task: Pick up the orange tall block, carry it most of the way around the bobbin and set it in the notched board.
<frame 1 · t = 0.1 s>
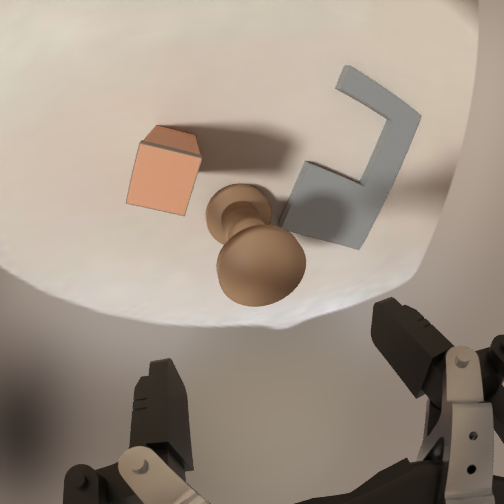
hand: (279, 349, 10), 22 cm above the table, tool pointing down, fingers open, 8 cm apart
bobbin: (237, 214, 32), on the table
notched board: (353, 163, 32), on the table
orange tall block: (169, 149, 27), on the table
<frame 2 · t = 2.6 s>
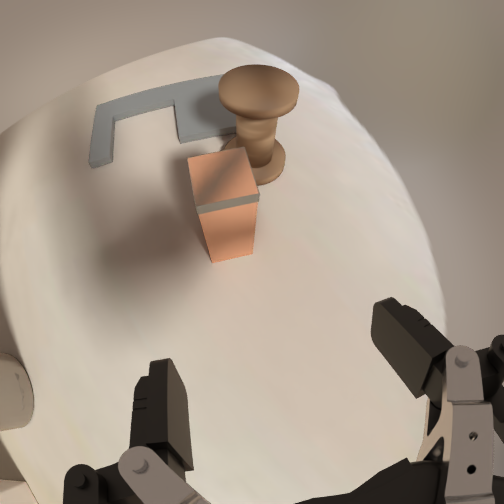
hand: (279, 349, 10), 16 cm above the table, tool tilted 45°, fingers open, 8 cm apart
bobbin: (254, 160, 33), on the table
notched board: (162, 117, 35), on the table
orange tall block: (227, 239, 29), on the table
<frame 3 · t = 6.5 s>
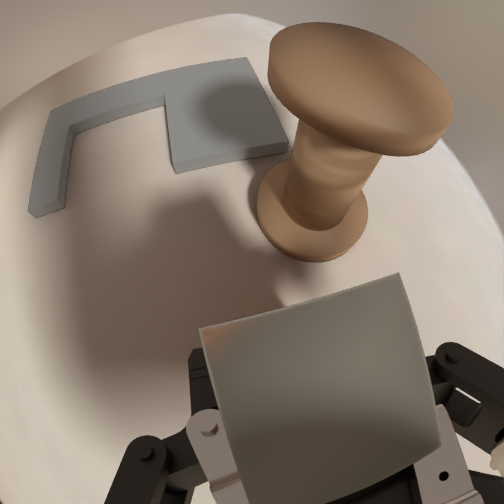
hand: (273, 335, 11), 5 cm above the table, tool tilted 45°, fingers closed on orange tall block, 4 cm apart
bobbin: (310, 210, 18), on the table
notched board: (145, 125, 21), on the table
orange tall block: (274, 375, 15), on the table, touching gripper
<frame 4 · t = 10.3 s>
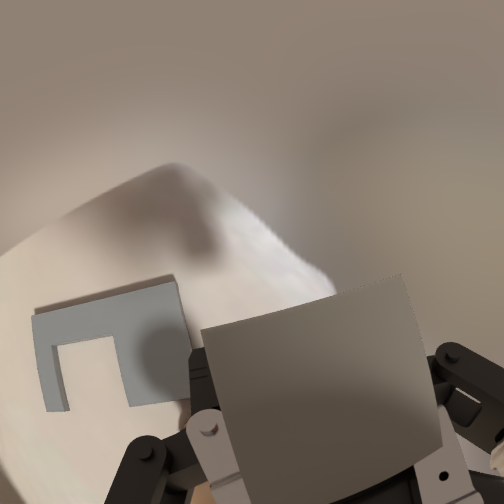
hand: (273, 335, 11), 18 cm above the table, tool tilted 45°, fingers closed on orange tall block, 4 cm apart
bobbin: (217, 437, 25), on the table
notched board: (105, 354, 27), on the table
orange tall block: (275, 375, 15), point 14 cm above the table, touching gripper
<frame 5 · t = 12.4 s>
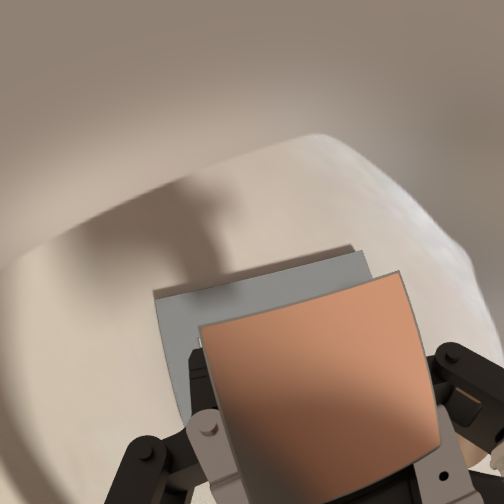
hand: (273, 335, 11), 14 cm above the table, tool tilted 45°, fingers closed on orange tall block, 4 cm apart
bobbin: (403, 410, 22), on the table
notched board: (280, 341, 25), on the table
orange tall block: (274, 374, 15), point 10 cm above the table, touching gripper
when the fingers open (6 cm above the table, at t = 14.1 s): orange tall block drops 1 cm, on the table.
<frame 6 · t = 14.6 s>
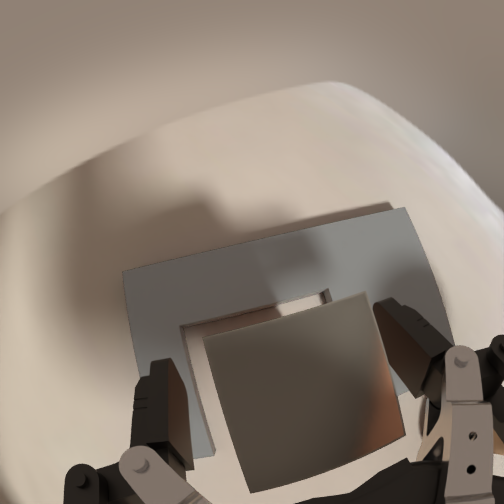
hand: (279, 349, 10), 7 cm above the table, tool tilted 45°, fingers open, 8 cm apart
notched board: (302, 331, 17), on the table
orange tall block: (270, 373, 16), on the table
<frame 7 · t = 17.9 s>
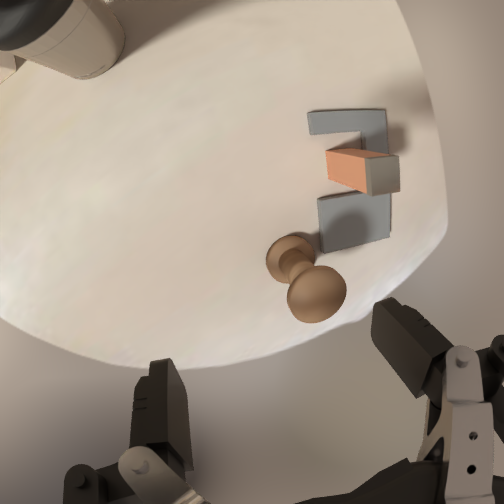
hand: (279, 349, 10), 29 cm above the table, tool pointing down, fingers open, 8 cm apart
bobbin: (289, 258, 42), on the table
notched board: (352, 179, 39), on the table
orange tall block: (339, 163, 38), on the table
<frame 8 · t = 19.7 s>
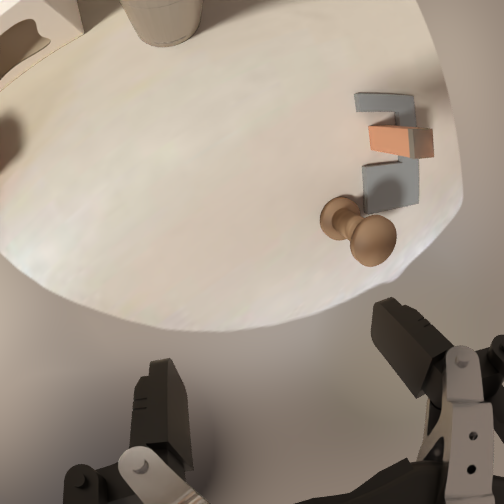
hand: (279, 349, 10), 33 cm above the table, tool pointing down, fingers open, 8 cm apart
gable box: (21, 41, 23), on the table
bobbin: (339, 217, 46), on the table
notched board: (389, 151, 43), on the table
orange tall block: (379, 137, 42), on the table
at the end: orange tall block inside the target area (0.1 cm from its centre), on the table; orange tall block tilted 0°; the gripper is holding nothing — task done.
